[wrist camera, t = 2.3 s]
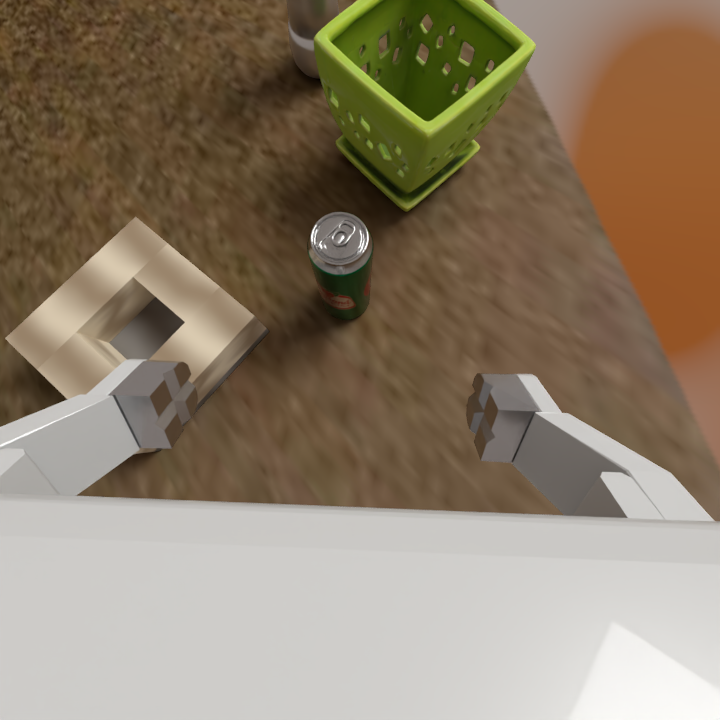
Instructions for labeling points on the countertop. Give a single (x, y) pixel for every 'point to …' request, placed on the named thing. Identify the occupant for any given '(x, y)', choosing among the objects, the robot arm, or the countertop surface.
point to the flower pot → (416, 87)
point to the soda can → (342, 263)
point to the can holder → (137, 319)
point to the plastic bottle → (308, 30)
